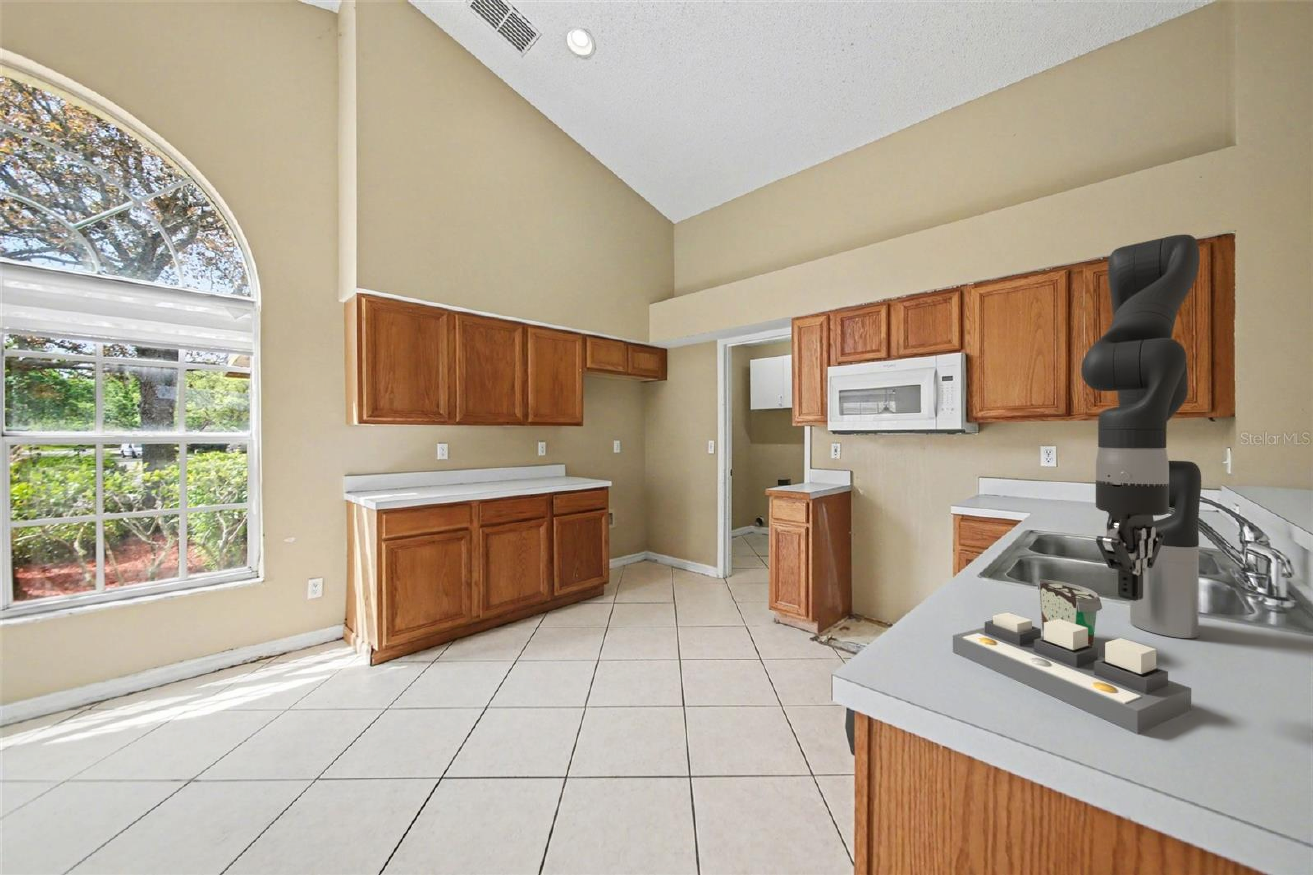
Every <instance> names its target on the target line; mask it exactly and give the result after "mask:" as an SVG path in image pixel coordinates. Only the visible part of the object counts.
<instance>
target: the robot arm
mask: <svg viewBox="0 0 1313 875" xmlns="http://www.w3.org/2000/svg"><path fill="white" fill-rule="evenodd" d="M1200 259H1201V258H1200V247H1199V243H1198V241H1197V239H1196V238H1195V237H1194V236H1193V235H1190V234H1175V235H1168V236H1166V237H1160V238H1156V239H1151V240H1147V241H1142V242H1138V243H1133V244H1129V245H1124V246H1121V247H1118V248H1115V249H1114V250H1113V251H1112V252H1111V253H1110V256H1109V258H1108V263H1107V264H1108V265H1107V277H1108V278H1107V280H1108V288H1109V289H1108V290H1109V294H1110V301H1111V309H1112V316H1113V317H1112V321H1111V323H1110V327H1109V329H1108V330H1107V331H1106V333H1105V334H1103V335H1102V336H1101V337H1100V338H1099V339H1098V340H1097V341H1096V342H1095V343H1093V345H1092V346H1091V347H1090V348H1089V349H1088V351H1087V352H1086V354H1085V356H1084V358H1083V360H1082V364H1081V370H1080V371H1081V372H1080V374H1081V377H1082V380H1083V381H1084V383H1085V384H1086V385H1087V386H1088V387H1089V388H1090V389H1093V390H1096V391H1099V392H1117V401H1118V406H1115V407H1109V408H1106V409H1104V410H1102V411H1101V412H1100V414H1099V415H1098V420H1097V421H1098V422H1097V429H1098V430H1097V445H1098V446H1097V453H1096V454H1097V455H1096V460H1095V508H1097V509H1098V510H1099V511H1104V512H1106V513H1107V514H1108V516H1107V522H1106V534H1105V536H1103V535H1097V536H1096V540H1095V543H1096V544H1097V546H1098V549H1099V551H1100V553H1101V555H1102V557H1103V559H1104V562H1105V563H1106V566H1107V567H1108V569H1111V570H1114V571H1116V572H1117V580H1118V581H1117V585H1118V586H1117V590H1118V591H1117V595H1118V596H1119V598H1121V599H1125V600H1129V601H1130V603H1129V604H1130V605H1129V609H1130V610H1129V614H1130V615H1129V616H1130V617H1129V622H1130V624H1131V625H1133V626H1134V627H1137V628H1138V629H1141V630H1144V631H1147V632H1150V633H1153V634H1156V635H1161V636H1166V637H1170V638H1171V637H1173V638H1180V639H1195V638H1198V636H1199V620H1200V619H1199V616H1200V614H1199V612H1200V610H1199V605H1200V604H1199V598H1200V596H1199V594H1200V592H1199V590H1200V588H1199V587H1200V585H1199V584H1200V583H1199V580H1200V579H1199V578H1200V575H1199V574H1200V567H1199V566H1200V561H1199V557H1200V556H1199V554H1200V552H1199V551H1200V550H1199V549H1200V535H1199V532H1200V531H1199V515H1200V506H1201V505H1200V502H1201V492H1202V472H1201V470H1200V467H1199V465H1197V464H1196V463H1195V462H1193V461H1187V460H1185V461H1184V460H1169V459H1168V458H1169V457H1168V451H1167V427H1168V426H1167V425H1168V421H1169V420H1170V419H1171V418H1172V417H1173V416H1174V415H1175V414H1176V413H1177V412H1178V411H1179V410H1180V409H1181V407H1182V406H1183V404H1184V403H1185V402H1186V400H1187V397H1188V396H1189V395H1188V394H1189V388H1188V387H1189V386H1188V385H1189V384H1188V383H1189V382H1188V379H1189V378H1188V363H1187V352H1186V349H1185V348H1184V346H1183V345H1182V344H1181V343H1180V342H1178V340H1176V339H1173V333H1174V328H1175V323H1176V317H1177V314H1178V311H1179V309H1180V308H1181V306H1182V304H1183V302H1184V301H1185V299H1186V298H1187V296H1188V295H1189V293H1190V291H1191V289H1192V287H1193V286H1194V283H1195V282H1196V279H1197V278H1198V275H1199V271H1200V265H1201V264H1200V262H1201V260H1200ZM1170 509H1174V512H1173V513H1172V514H1171V515H1169V516H1167V517H1164V518H1161V519H1156V520H1155V519H1154V517H1155V516H1165V515H1167V514H1169V511H1170Z"/></svg>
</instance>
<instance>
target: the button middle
mask: <svg viewBox="0 0 1313 875" xmlns="http://www.w3.org/2000/svg"><path fill="white" fill-rule="evenodd" d="M1043 637H1044V640H1046V641H1049V642H1052V643H1054V644H1057V645H1060V646H1063V647H1066V648H1068V649H1071V650H1075V649H1078V648H1082V647H1085V646H1088V628H1086V627H1083V626H1080V625H1077V624H1074V623H1070V622H1067V621H1064V620H1061V619H1056V620H1052V621H1049V622H1045V623H1044V633H1043Z"/></svg>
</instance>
